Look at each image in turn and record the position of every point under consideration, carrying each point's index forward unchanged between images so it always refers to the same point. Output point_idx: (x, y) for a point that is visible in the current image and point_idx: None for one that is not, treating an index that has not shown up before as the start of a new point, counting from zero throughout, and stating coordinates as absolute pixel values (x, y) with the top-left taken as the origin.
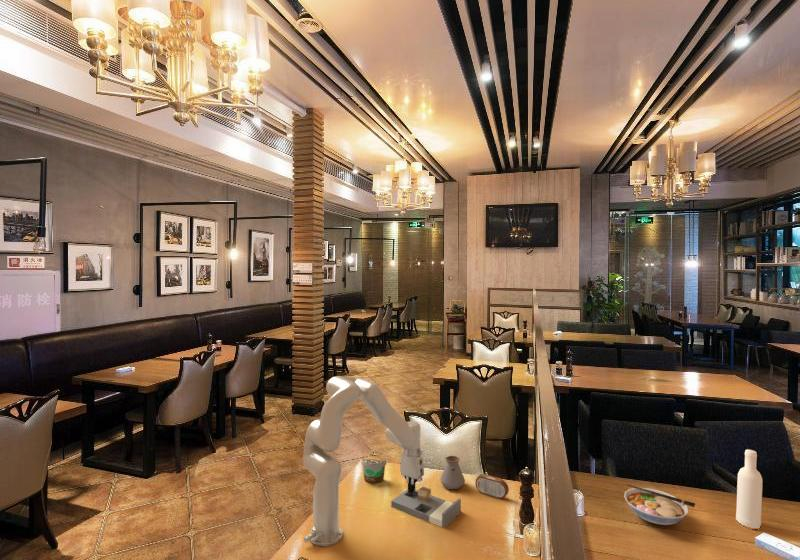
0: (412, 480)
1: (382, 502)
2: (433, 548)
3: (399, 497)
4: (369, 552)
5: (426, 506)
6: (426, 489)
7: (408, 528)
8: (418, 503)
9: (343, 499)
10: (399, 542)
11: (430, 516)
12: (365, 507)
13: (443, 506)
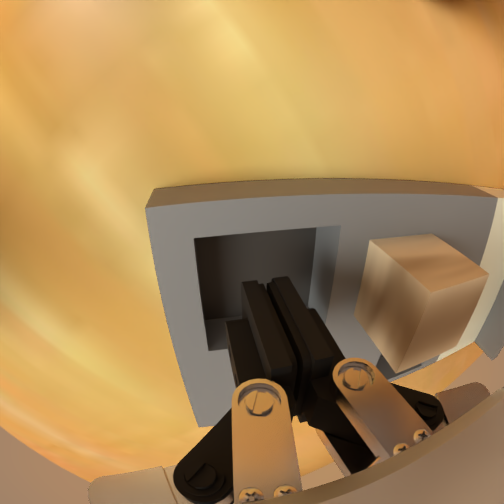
0: (355, 457)
1: (123, 396)
2: (435, 390)
3: (210, 389)
4: (301, 475)
5: None
6: (461, 312)
7: None
8: (373, 346)
9: (25, 430)
10: None
11: (440, 358)
12: (116, 439)
13: (489, 261)
